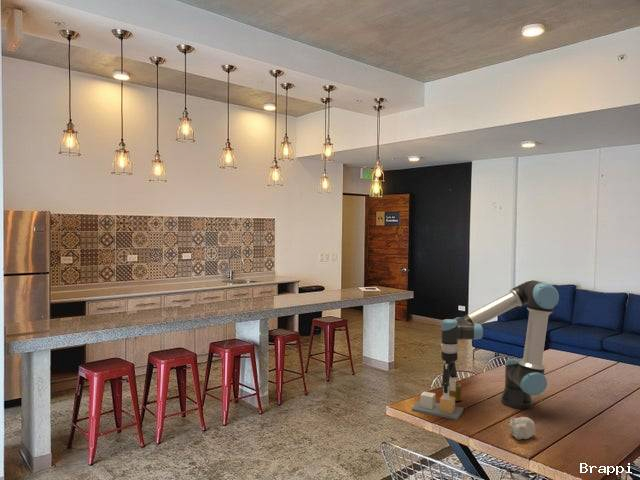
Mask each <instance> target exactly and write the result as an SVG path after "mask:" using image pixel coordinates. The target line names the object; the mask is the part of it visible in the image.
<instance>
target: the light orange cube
mask: <svg viewBox="0 0 640 480" xmlns="http://www.w3.org/2000/svg"><path fill="white" fill-rule="evenodd" d="M439 403H440V411H442V412H448V413H453V411H454V410H455V406H456V401H455V397H451V396H449V400H446V399H443V394H442V395H441V396H440V397H439Z"/></svg>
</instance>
